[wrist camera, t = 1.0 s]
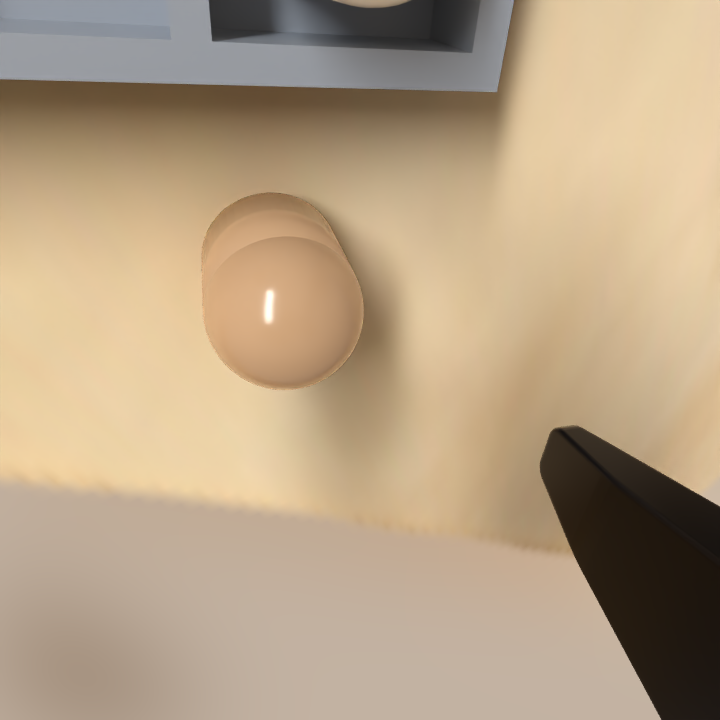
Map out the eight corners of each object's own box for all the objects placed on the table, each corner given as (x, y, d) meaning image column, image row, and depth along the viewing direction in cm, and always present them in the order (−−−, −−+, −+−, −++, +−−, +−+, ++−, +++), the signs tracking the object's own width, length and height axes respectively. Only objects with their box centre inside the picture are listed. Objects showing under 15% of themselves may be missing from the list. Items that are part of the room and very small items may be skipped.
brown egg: (333, 180, 17) (390, 269, 12) (329, 299, 19) (375, 413, 15) (193, 183, 16) (193, 280, 11) (208, 306, 19) (213, 432, 14)
